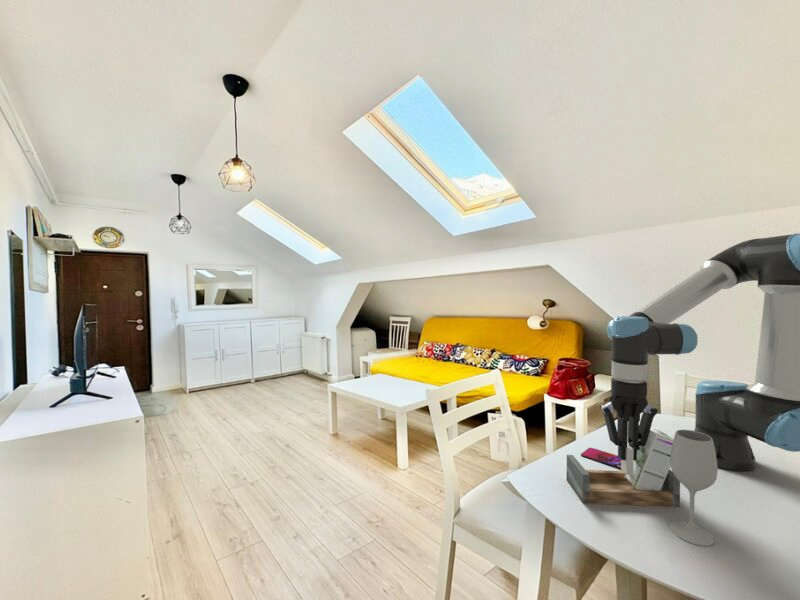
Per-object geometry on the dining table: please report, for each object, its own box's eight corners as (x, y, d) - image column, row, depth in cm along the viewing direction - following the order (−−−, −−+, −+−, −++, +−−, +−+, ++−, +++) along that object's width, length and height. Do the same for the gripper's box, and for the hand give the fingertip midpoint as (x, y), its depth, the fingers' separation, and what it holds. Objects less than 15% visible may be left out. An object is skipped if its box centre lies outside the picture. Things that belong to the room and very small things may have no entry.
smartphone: (589, 446, 114) (644, 463, 103) (589, 449, 114) (644, 466, 103) (579, 454, 109) (636, 473, 98) (579, 457, 109) (636, 476, 98)
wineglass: (659, 522, 78) (661, 428, 77) (691, 520, 79) (694, 427, 78) (690, 548, 71) (693, 444, 70) (725, 545, 71) (729, 442, 71)
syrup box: (658, 498, 85) (682, 443, 84) (633, 488, 86) (657, 434, 85) (645, 485, 91) (667, 433, 90) (622, 476, 92) (644, 424, 90)
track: (652, 483, 94) (653, 457, 94) (679, 506, 84) (680, 477, 84) (566, 480, 96) (566, 454, 95) (582, 503, 86) (583, 474, 85)
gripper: (647, 375, 91) (645, 465, 93) (594, 374, 92) (593, 463, 94) (666, 383, 84) (664, 481, 85) (609, 382, 85) (607, 479, 86)
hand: (626, 471), depth 89 cm, fingers closed
